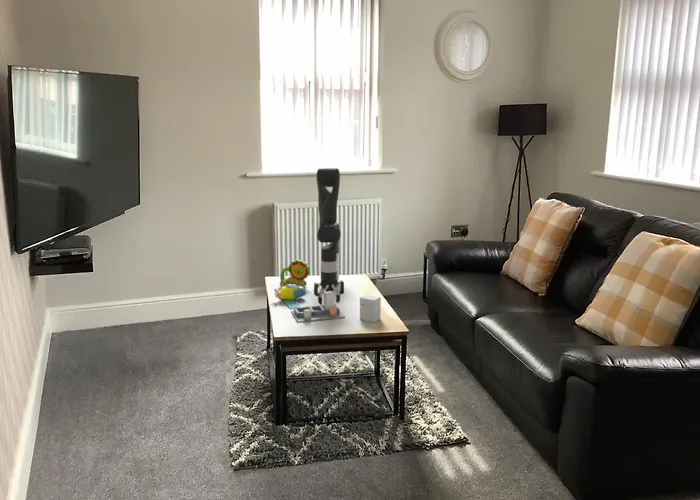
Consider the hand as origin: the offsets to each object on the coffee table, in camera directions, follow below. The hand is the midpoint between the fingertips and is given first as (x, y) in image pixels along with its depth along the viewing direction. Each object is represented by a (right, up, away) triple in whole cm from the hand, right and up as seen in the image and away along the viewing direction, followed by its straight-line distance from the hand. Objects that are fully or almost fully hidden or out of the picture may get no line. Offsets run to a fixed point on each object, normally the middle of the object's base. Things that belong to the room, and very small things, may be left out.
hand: (329, 303), depth 291 cm
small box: (+19, -7, -7) cm, 21 cm away
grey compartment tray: (-5, -5, -2) cm, 8 cm away
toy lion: (-19, +5, +40) cm, 45 cm away
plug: (0, -4, +1) cm, 4 cm away
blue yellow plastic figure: (-20, -1, +19) cm, 28 cm away
